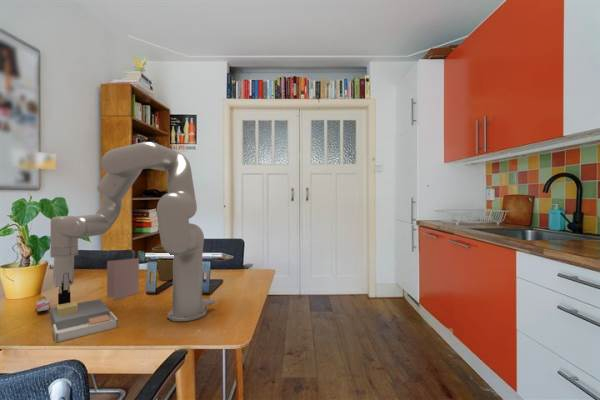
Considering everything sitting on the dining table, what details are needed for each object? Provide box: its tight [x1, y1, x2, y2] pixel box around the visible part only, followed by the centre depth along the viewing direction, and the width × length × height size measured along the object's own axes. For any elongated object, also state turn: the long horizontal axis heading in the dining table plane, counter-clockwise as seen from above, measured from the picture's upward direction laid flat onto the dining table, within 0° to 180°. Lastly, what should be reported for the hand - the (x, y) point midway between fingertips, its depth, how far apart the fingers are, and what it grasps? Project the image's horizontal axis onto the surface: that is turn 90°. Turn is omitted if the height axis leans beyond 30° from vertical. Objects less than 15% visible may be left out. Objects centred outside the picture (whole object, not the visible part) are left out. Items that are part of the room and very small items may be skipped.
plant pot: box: [152, 245, 173, 282], centre depth 151 cm, size 15×15×16 cm
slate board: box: [50, 298, 111, 330], centre depth 100 cm, size 14×16×3 cm
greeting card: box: [106, 257, 140, 302], centre depth 122 cm, size 11×7×15 cm, turn 125°
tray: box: [52, 311, 119, 344], centre depth 91 cm, size 15×9×2 cm, turn 134°
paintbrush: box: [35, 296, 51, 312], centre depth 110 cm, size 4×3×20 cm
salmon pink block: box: [88, 315, 111, 326], centre depth 92 cm, size 5×5×2 cm
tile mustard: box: [56, 301, 78, 317], centre depth 97 cm, size 5×5×2 cm
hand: (64, 304), depth 103 cm, fingers closed
